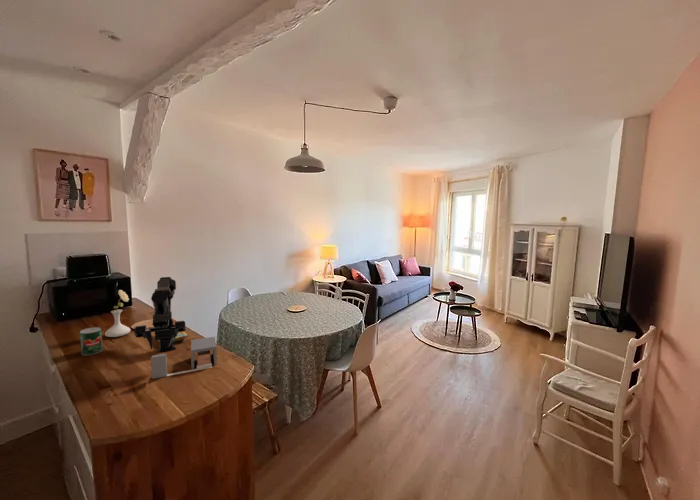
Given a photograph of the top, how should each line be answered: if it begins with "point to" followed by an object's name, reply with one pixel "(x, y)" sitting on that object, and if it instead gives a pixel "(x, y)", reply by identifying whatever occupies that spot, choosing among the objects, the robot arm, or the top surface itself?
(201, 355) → the block
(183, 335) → the puzzle game
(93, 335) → the canned tomato
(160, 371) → the grey white bent piece
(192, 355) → the tunnel
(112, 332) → the flower in vase
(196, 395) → the top surface
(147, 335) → the robot arm
